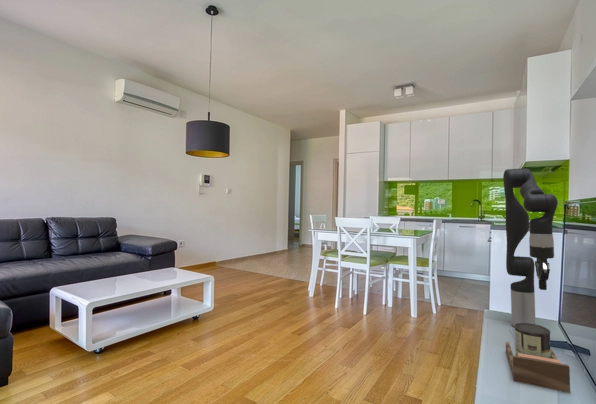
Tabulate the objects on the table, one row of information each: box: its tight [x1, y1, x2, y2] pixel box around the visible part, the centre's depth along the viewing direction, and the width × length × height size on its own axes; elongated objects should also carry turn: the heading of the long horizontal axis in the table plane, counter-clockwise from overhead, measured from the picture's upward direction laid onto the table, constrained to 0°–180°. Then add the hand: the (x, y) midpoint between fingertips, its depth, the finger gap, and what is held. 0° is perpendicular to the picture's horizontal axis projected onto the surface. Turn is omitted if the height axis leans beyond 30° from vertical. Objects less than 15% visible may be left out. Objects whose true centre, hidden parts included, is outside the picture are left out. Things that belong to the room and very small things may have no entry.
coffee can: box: [514, 323, 551, 359], centre depth 110 cm, size 10×10×14 cm
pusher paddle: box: [518, 353, 562, 364], centre depth 101 cm, size 2×11×8 cm, turn 61°
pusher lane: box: [505, 341, 571, 393], centre depth 109 cm, size 23×14×8 cm, turn 152°
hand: (542, 289), depth 121 cm, fingers closed
